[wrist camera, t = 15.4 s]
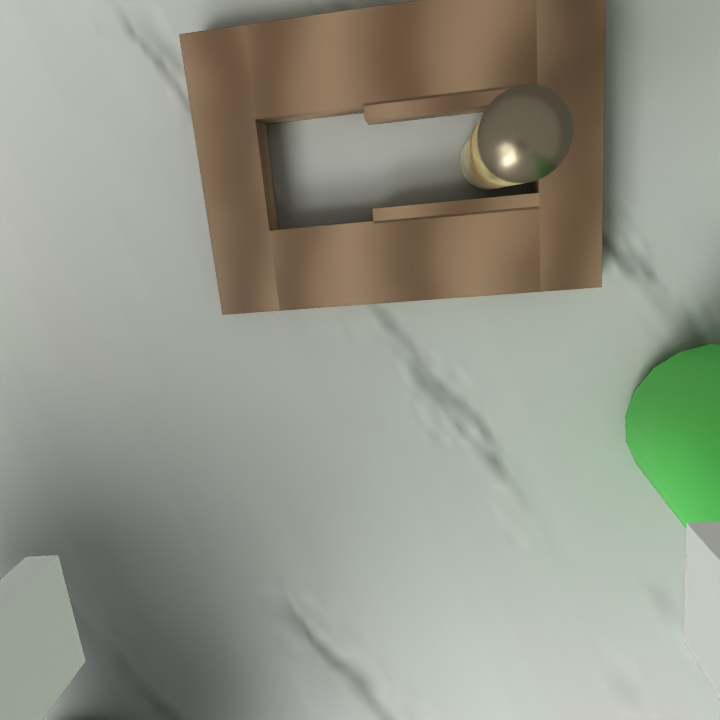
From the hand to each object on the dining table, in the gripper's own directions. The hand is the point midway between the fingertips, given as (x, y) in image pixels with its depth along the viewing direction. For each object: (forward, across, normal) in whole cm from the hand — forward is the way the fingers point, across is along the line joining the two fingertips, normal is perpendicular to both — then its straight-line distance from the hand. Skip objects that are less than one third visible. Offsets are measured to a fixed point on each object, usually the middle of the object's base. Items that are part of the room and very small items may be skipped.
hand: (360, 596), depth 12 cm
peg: (+22, +6, +10) cm, 25 cm away
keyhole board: (+22, +1, +10) cm, 24 cm away
